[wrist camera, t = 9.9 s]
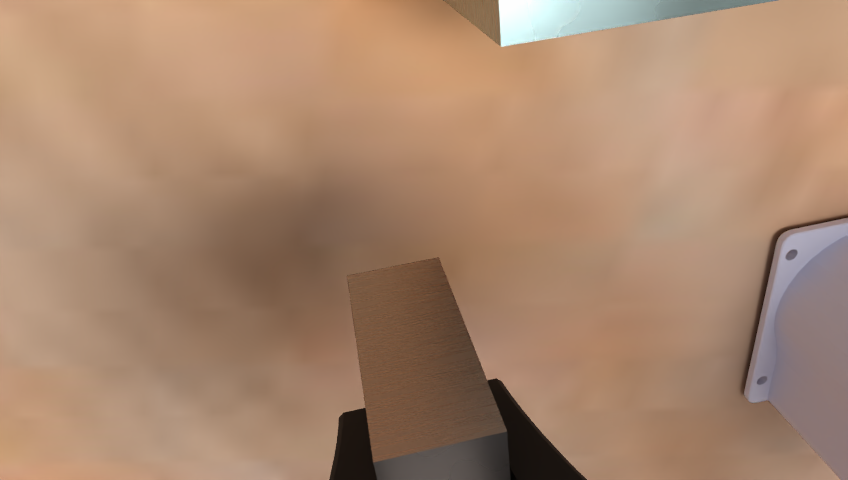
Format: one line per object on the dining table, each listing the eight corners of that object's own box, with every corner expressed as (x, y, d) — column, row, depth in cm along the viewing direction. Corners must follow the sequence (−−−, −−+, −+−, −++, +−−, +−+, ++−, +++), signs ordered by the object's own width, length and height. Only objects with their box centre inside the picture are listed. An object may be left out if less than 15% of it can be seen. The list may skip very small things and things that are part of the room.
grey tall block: (459, 420, 16) (520, 615, 12) (382, 437, 16) (416, 642, 11) (438, 257, 13) (506, 431, 9) (347, 276, 13) (373, 462, 9)
